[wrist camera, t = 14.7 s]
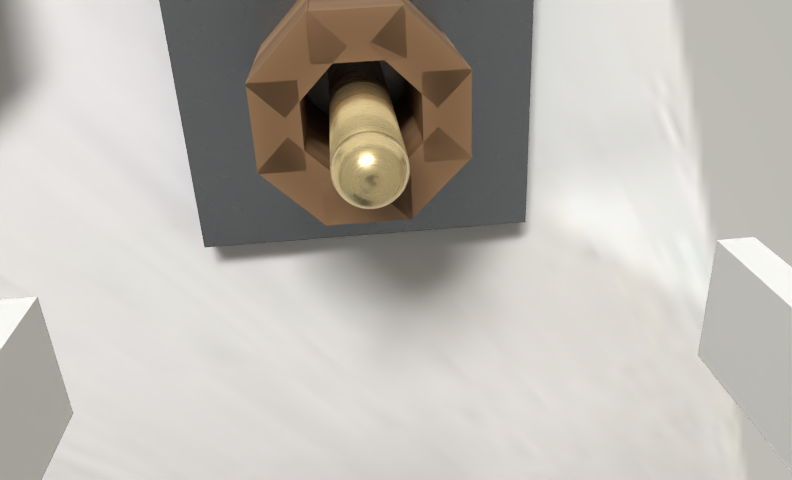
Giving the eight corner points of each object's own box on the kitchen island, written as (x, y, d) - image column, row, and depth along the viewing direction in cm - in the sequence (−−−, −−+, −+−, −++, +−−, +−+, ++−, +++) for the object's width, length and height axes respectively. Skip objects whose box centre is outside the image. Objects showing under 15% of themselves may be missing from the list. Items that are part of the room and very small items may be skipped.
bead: (445, 155, 35) (472, 215, 28) (275, 167, 34) (264, 230, 28) (443, -24, 31) (473, 0, 25) (253, -13, 31) (234, 14, 24)
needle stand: (518, 209, 38) (619, 383, 25) (209, 234, 37) (144, 428, 24) (529, -134, 31) (680, -146, 18) (146, -115, 30) (5, -112, 17)
